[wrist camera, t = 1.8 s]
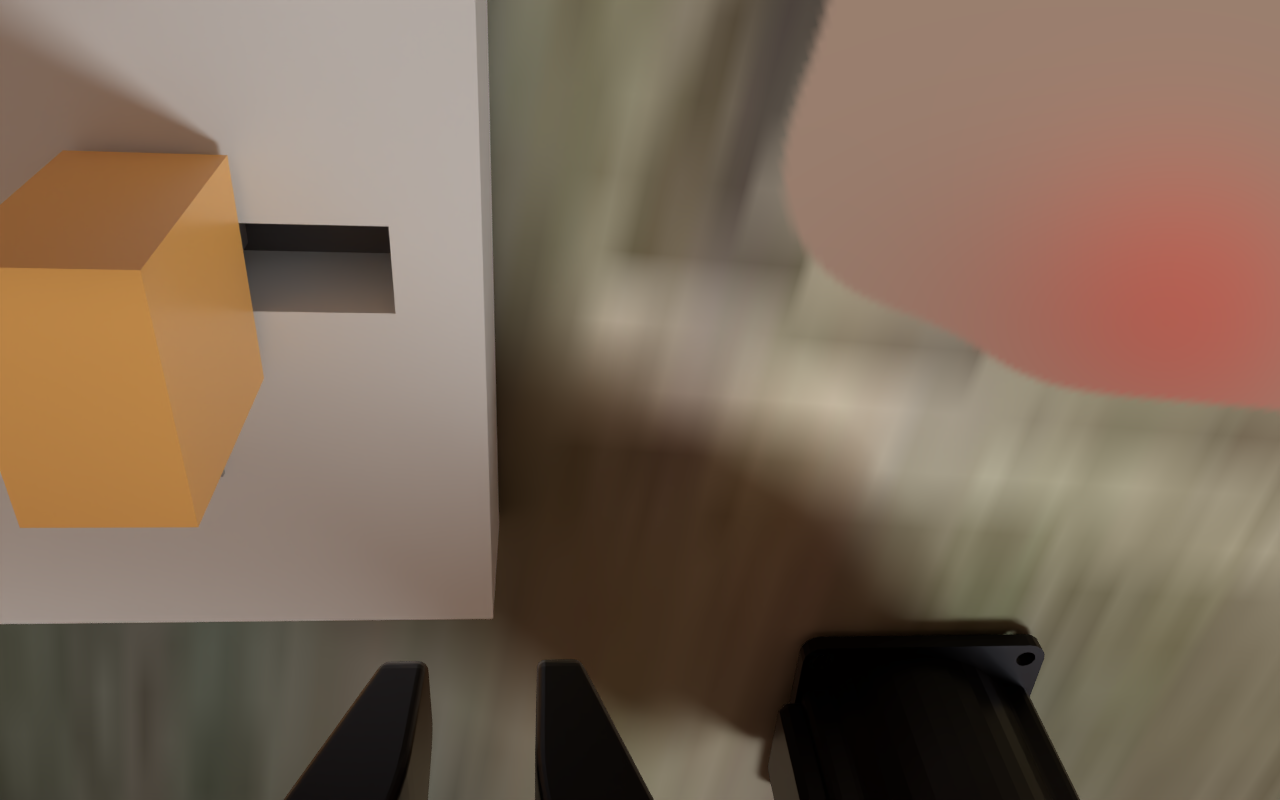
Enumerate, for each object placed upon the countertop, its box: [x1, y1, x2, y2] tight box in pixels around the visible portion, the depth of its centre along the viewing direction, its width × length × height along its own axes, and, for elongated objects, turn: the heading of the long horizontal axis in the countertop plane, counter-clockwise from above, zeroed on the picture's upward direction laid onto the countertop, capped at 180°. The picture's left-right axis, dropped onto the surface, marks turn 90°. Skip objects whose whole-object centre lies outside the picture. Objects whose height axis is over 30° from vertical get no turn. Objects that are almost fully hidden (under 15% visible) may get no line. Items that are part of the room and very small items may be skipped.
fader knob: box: [0, 150, 264, 528], centre depth 16 cm, size 2×4×6 cm, turn 177°
